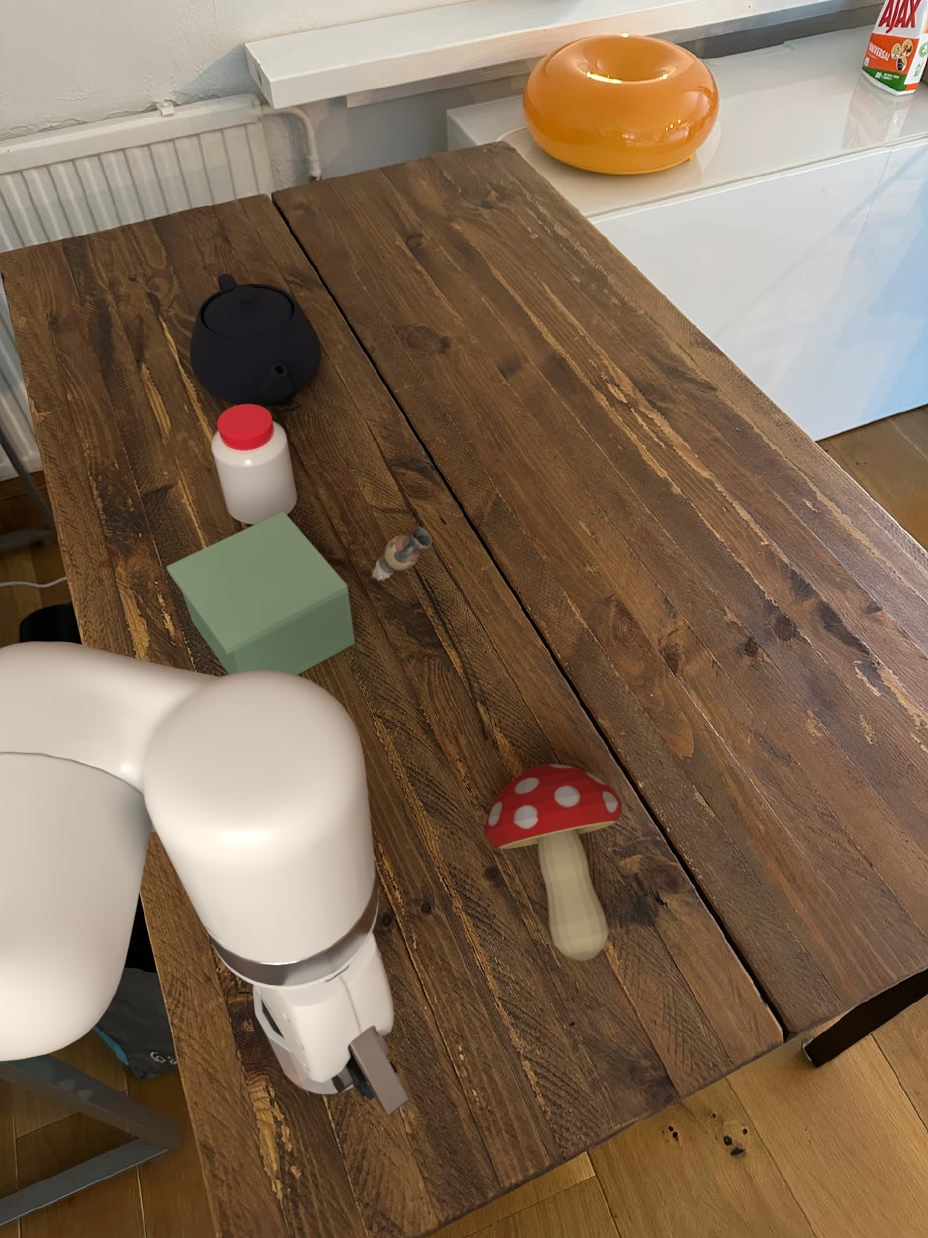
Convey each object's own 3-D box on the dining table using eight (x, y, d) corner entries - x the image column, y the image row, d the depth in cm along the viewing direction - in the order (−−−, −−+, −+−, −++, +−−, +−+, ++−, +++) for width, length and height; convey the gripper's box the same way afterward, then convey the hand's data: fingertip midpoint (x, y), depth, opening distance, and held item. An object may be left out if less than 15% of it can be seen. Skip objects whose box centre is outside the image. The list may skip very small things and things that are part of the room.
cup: (311, 1120, 55) (293, 1082, 48) (254, 1020, 58) (230, 972, 51) (408, 1047, 58) (405, 1001, 51) (348, 956, 61) (338, 901, 54)
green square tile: (226, 654, 81) (225, 649, 80) (168, 572, 87) (166, 566, 86) (348, 591, 86) (347, 585, 85) (284, 516, 91) (283, 510, 91)
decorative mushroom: (688, 938, 71) (636, 744, 76) (589, 967, 64) (538, 751, 68) (584, 954, 79) (542, 777, 83) (485, 982, 72) (445, 787, 76)
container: (248, 702, 87) (233, 651, 81) (192, 622, 93) (174, 569, 87) (355, 643, 92) (348, 591, 86) (295, 570, 98) (284, 517, 91)
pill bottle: (227, 478, 106) (207, 398, 97) (297, 473, 107) (283, 394, 98) (224, 527, 101) (203, 448, 93) (297, 522, 102) (283, 443, 93)
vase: (440, 561, 99) (440, 520, 94) (419, 598, 95) (418, 558, 91) (393, 546, 100) (390, 505, 95) (371, 582, 97) (367, 542, 92)
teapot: (175, 343, 122) (151, 255, 112) (290, 314, 126) (277, 226, 116) (230, 463, 108) (208, 374, 98) (358, 426, 112) (349, 337, 102)
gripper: (124, 789, 44) (198, 930, 58) (318, 1130, 35) (349, 1200, 49) (268, 710, 47) (305, 863, 60) (480, 1008, 38) (466, 1106, 52)
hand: (325, 1013), depth 55 cm, fingers closed on cup, 6 cm apart
